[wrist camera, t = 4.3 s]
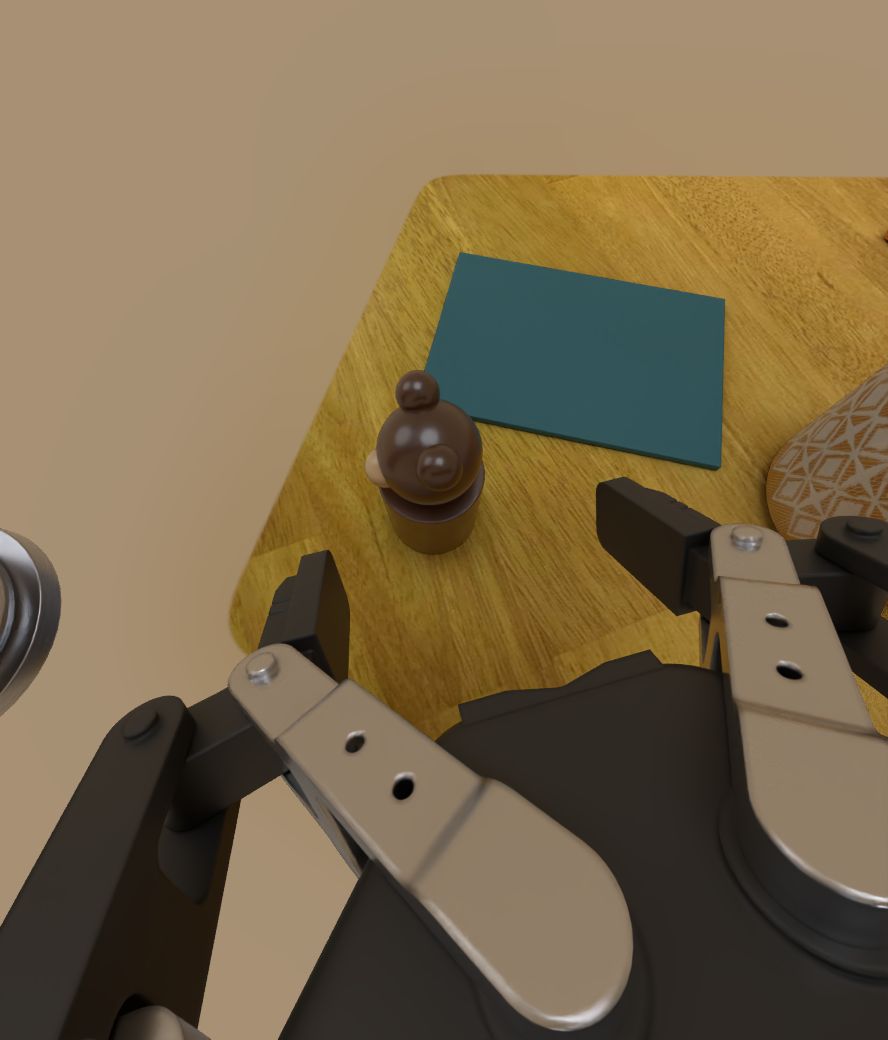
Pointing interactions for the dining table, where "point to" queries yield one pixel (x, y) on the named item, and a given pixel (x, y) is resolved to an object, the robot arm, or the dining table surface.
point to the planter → (834, 464)
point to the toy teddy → (428, 467)
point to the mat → (583, 358)
